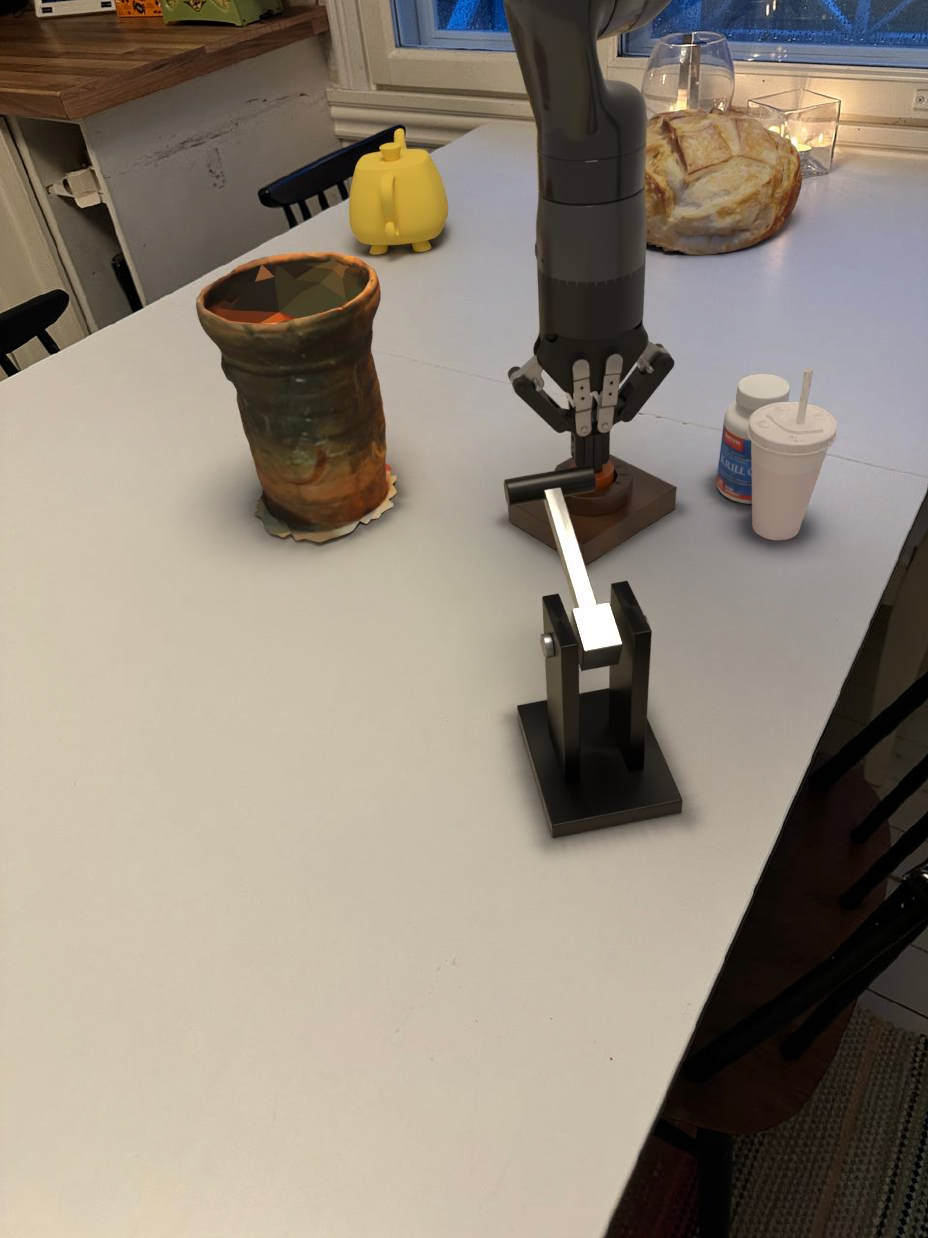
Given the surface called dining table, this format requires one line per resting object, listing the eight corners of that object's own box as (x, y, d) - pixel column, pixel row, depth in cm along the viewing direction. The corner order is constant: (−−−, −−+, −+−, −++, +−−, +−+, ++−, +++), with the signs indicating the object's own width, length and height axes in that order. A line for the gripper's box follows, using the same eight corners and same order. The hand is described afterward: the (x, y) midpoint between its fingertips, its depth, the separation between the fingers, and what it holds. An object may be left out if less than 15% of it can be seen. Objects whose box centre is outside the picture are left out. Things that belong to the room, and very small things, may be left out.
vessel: (440, 503, 82) (412, 282, 69) (295, 566, 77) (234, 341, 64) (366, 438, 92) (328, 233, 79) (232, 491, 87) (168, 281, 74)
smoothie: (792, 560, 72) (822, 399, 63) (719, 532, 76) (737, 375, 66) (831, 520, 75) (865, 361, 66) (760, 495, 79) (782, 340, 70)
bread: (615, 199, 141) (608, 90, 131) (806, 187, 131) (814, 67, 121) (574, 266, 124) (562, 145, 114) (789, 257, 114) (797, 125, 104)
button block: (598, 469, 84) (599, 430, 81) (675, 508, 79) (678, 468, 76) (508, 521, 79) (505, 482, 77) (583, 567, 74) (583, 526, 71)
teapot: (345, 267, 126) (328, 168, 118) (367, 216, 141) (353, 125, 133) (445, 261, 125) (434, 159, 116) (456, 210, 139) (448, 117, 131)
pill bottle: (705, 495, 80) (715, 392, 73) (730, 464, 83) (742, 363, 76) (767, 512, 77) (783, 407, 70) (791, 480, 80) (808, 376, 74)
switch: (503, 494, 59) (503, 470, 57) (587, 479, 59) (590, 455, 57) (552, 677, 52) (554, 657, 50) (647, 659, 52) (652, 638, 50)
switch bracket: (517, 716, 63) (505, 570, 54) (632, 695, 63) (638, 546, 55) (552, 838, 55) (545, 690, 47) (682, 812, 56) (698, 661, 47)
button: (591, 468, 79) (591, 450, 78) (622, 484, 77) (623, 466, 75) (560, 486, 77) (560, 468, 76) (591, 503, 75) (591, 485, 74)
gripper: (508, 291, 61) (521, 507, 73) (702, 260, 62) (684, 478, 73) (487, 251, 67) (502, 457, 78) (665, 223, 68) (653, 431, 79)
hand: (590, 467), depth 76 cm, fingers closed
